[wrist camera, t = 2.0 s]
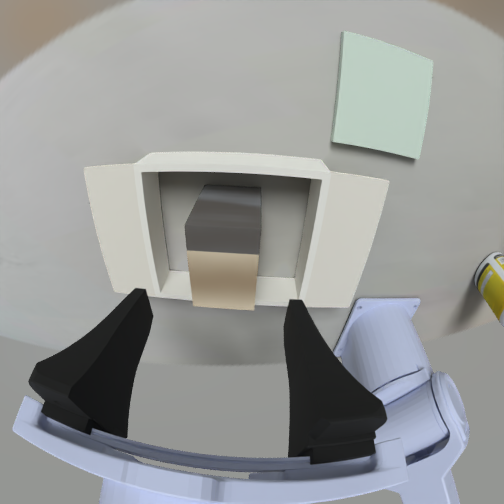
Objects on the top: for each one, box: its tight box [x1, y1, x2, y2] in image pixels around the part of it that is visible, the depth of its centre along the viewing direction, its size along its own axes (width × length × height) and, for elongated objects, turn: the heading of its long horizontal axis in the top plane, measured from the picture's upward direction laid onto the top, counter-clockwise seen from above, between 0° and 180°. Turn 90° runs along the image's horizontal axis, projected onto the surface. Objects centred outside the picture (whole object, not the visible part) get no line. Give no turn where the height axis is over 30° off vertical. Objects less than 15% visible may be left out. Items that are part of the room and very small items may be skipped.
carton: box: [84, 152, 389, 308], centre depth 19 cm, size 11×20×3 cm, turn 87°
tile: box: [331, 31, 433, 160], centre depth 14 cm, size 8×7×1 cm
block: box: [185, 185, 261, 310], centre depth 18 cm, size 6×4×6 cm, turn 177°
